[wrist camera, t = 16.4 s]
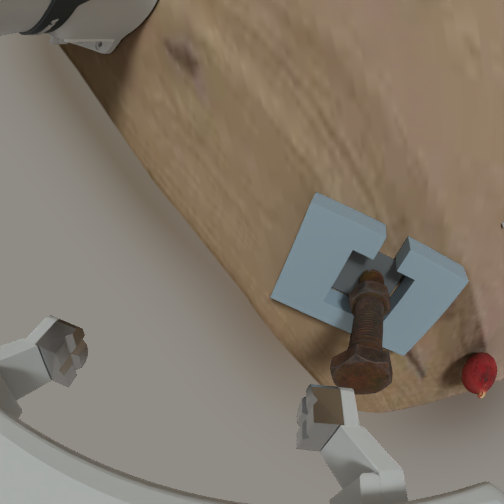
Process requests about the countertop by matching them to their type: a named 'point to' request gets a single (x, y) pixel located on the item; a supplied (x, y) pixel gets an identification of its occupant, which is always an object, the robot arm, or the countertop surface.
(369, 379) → the bolt
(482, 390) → the onion
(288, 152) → the countertop surface
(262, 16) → the countertop surface
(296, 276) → the pocket frame
